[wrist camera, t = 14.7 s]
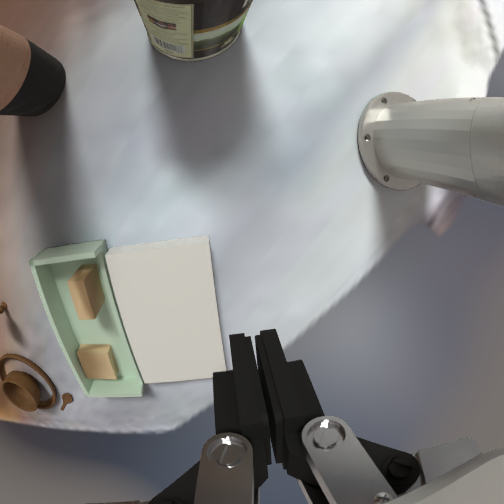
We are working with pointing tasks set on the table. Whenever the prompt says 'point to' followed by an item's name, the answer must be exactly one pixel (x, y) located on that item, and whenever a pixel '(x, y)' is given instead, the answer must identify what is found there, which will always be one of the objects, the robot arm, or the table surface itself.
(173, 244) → the board
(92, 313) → the tile
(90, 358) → the tile
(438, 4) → the table surface
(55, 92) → the travel mug
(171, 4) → the coffee can
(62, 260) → the tray
